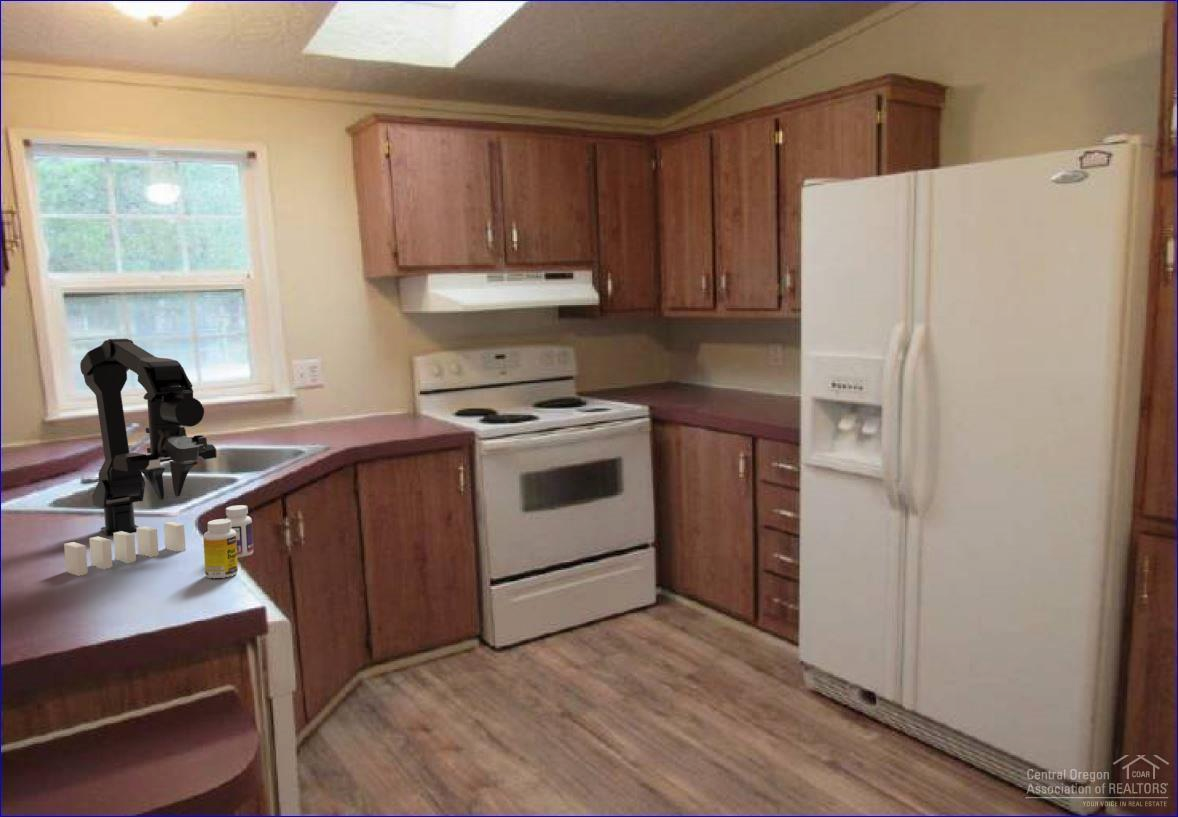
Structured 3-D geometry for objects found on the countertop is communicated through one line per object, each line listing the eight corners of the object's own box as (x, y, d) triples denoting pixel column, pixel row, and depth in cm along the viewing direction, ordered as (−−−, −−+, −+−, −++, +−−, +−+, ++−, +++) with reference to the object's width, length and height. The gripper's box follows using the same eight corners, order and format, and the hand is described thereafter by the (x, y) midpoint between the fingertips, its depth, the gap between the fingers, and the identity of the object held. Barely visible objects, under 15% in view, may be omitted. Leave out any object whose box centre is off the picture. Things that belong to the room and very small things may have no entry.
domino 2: (103, 569, 153) (101, 541, 153) (91, 565, 156) (89, 538, 155) (112, 567, 155) (110, 539, 154) (99, 563, 157) (98, 536, 156)
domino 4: (150, 557, 161) (149, 531, 160) (138, 553, 163) (136, 527, 163) (158, 555, 162) (156, 529, 162) (145, 551, 165) (144, 526, 164)
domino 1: (78, 576, 149) (76, 547, 149) (66, 571, 152) (63, 543, 151) (87, 573, 151) (85, 545, 150) (75, 569, 153) (73, 541, 153)
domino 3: (127, 563, 157) (126, 536, 156) (115, 559, 159) (113, 532, 159) (136, 561, 158) (134, 534, 158) (123, 557, 161) (121, 531, 160)
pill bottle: (245, 549, 167) (243, 502, 165) (258, 554, 163) (256, 506, 162) (219, 555, 162) (216, 507, 161) (232, 560, 159) (230, 512, 158)
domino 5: (178, 552, 164) (176, 526, 164) (165, 548, 167) (163, 523, 166) (185, 550, 166) (184, 524, 165) (172, 546, 168) (171, 521, 168)
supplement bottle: (231, 579, 148) (228, 525, 146) (200, 580, 147) (197, 525, 146) (242, 570, 153) (240, 517, 152) (212, 570, 153) (209, 517, 152)
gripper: (140, 431, 152) (146, 512, 153) (230, 420, 167) (234, 494, 169) (109, 427, 158) (114, 505, 159) (199, 416, 173) (203, 488, 175)
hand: (169, 498), depth 166 cm, fingers open, 3 cm apart
